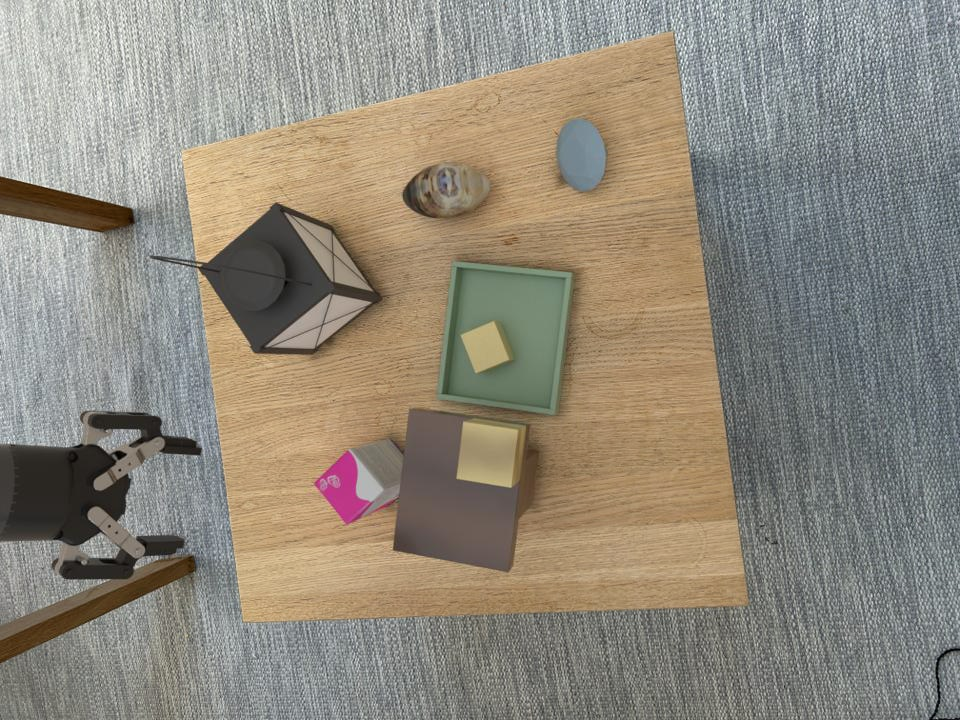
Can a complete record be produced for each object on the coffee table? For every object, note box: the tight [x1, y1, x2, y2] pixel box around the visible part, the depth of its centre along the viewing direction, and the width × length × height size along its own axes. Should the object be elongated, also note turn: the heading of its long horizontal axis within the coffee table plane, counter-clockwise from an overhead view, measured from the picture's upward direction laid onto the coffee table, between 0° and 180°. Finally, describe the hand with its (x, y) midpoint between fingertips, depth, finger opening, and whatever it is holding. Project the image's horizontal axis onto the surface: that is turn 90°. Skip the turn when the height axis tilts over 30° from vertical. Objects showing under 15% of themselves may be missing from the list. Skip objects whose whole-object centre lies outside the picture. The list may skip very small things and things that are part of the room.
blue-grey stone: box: [555, 117, 608, 193], centre depth 82 cm, size 8×8×5 cm
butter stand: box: [392, 407, 540, 573], centre depth 73 cm, size 12×10×26 cm
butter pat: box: [461, 321, 515, 374], centre depth 84 cm, size 4×4×4 cm
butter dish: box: [435, 260, 576, 416], centre depth 84 cm, size 15×13×3 cm
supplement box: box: [313, 438, 404, 525], centre depth 83 cm, size 6×6×12 cm
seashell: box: [401, 162, 491, 219], centre depth 83 cm, size 10×6×8 cm, turn 98°
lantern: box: [149, 201, 383, 356], centre depth 77 cm, size 11×11×28 cm
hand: (189, 495), depth 71 cm, fingers open, 8 cm apart
